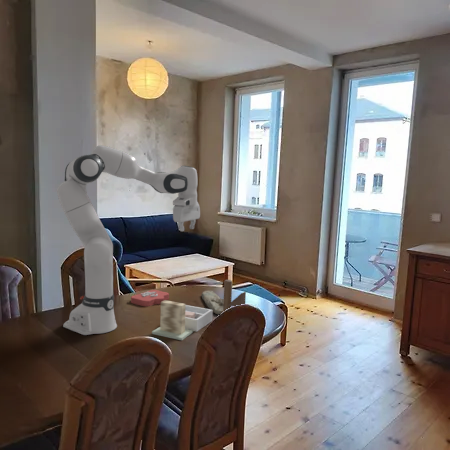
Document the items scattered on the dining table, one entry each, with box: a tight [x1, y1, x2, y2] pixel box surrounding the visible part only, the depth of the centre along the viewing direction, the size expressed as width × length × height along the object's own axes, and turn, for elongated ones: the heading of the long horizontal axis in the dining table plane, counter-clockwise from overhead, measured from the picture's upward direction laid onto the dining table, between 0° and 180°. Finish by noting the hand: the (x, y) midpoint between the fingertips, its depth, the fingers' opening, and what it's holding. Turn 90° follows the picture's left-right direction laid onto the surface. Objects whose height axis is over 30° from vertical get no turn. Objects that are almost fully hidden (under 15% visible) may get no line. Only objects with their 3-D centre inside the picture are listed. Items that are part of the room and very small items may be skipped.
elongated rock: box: [201, 290, 224, 316], centre depth 212 cm, size 35×5×10 cm
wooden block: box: [222, 279, 247, 312], centre depth 189 cm, size 4×11×18 cm, turn 54°
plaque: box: [130, 289, 170, 308], centre depth 214 cm, size 18×4×15 cm
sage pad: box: [151, 326, 194, 341], centre depth 173 cm, size 14×9×1 cm, turn 66°
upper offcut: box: [185, 311, 195, 319], centre depth 181 cm, size 8×4×3 cm, turn 76°
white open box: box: [185, 304, 214, 332], centre depth 185 cm, size 16×15×5 cm
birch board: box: [159, 300, 187, 334], centre depth 172 cm, size 10×3×12 cm, turn 66°
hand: (187, 229), depth 198 cm, fingers open, 8 cm apart
